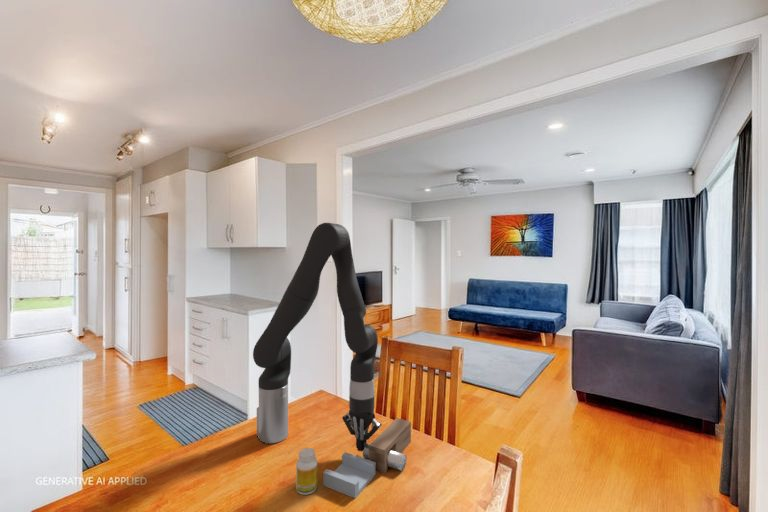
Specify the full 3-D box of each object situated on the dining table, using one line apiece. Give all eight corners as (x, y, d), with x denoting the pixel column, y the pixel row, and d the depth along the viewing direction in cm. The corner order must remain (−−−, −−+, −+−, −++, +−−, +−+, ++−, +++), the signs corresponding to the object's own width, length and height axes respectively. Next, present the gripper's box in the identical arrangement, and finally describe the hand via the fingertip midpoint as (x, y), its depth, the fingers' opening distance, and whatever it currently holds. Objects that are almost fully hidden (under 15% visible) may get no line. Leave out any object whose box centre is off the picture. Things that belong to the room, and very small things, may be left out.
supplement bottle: (294, 485, 92) (294, 449, 92) (314, 479, 94) (314, 444, 94) (298, 498, 87) (298, 460, 87) (319, 491, 90) (319, 455, 89)
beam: (369, 468, 99) (369, 445, 99) (396, 437, 115) (396, 417, 115) (384, 473, 97) (384, 450, 96) (410, 441, 112) (410, 421, 112)
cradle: (323, 485, 92) (323, 472, 92) (345, 464, 101) (345, 452, 101) (355, 498, 87) (355, 484, 87) (375, 474, 96) (375, 462, 96)
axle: (363, 461, 102) (362, 449, 102) (370, 452, 106) (369, 439, 105) (400, 474, 97) (399, 461, 96) (406, 464, 101) (406, 450, 100)
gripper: (336, 393, 104) (335, 449, 105) (375, 403, 98) (374, 463, 99) (350, 384, 111) (349, 437, 112) (387, 393, 105) (386, 449, 106)
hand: (361, 449), depth 105 cm, fingers closed
